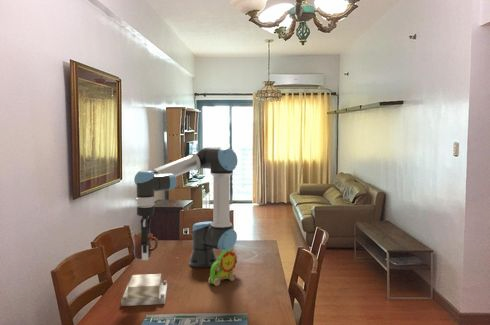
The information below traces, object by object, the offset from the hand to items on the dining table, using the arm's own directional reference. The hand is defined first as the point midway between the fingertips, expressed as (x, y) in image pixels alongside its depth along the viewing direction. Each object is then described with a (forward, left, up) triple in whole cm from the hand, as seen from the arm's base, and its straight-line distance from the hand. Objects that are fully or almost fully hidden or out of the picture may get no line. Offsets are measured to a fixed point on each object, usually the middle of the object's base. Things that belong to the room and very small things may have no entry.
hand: (146, 257), depth 186 cm
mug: (0, +1, 0) cm, 1 cm away
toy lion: (-36, -13, -18) cm, 42 cm away
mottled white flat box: (0, +1, -18) cm, 18 cm away
